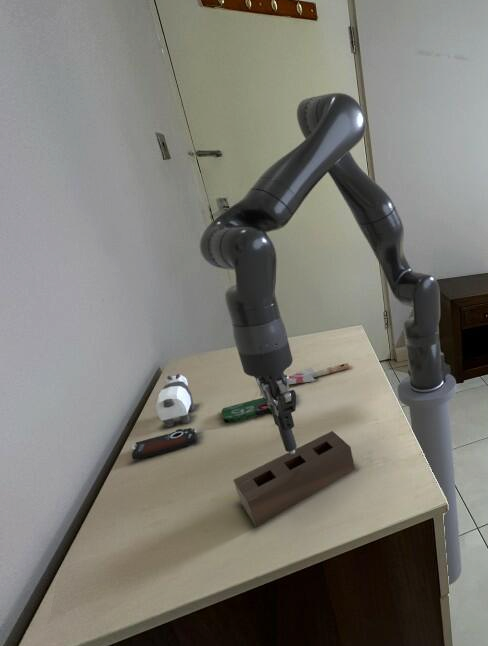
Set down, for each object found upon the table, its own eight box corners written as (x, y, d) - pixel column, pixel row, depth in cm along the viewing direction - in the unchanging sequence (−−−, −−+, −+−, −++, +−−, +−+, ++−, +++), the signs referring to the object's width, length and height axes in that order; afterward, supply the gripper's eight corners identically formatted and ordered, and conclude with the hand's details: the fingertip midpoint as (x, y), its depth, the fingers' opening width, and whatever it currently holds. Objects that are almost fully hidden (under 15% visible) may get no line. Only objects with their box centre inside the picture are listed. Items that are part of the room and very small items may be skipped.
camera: (136, 437, 90) (196, 422, 96) (139, 448, 91) (199, 432, 97) (129, 451, 85) (193, 434, 91) (134, 462, 86) (196, 444, 92)
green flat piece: (221, 426, 96) (221, 406, 103) (223, 431, 96) (223, 411, 104) (296, 405, 104) (291, 388, 112) (297, 409, 105) (292, 392, 112)
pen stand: (241, 503, 76) (232, 479, 74) (337, 452, 89) (332, 430, 87) (256, 527, 71) (247, 502, 69) (355, 469, 84) (350, 446, 82)
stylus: (295, 447, 78) (280, 396, 74) (299, 452, 77) (284, 400, 72) (285, 452, 77) (268, 401, 72) (289, 457, 76) (272, 405, 71)
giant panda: (190, 424, 99) (178, 391, 95) (162, 431, 97) (148, 397, 93) (199, 396, 111) (189, 366, 107) (174, 401, 108) (163, 371, 105)
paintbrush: (274, 376, 115) (346, 359, 126) (276, 384, 116) (347, 367, 127) (276, 381, 112) (349, 364, 123) (278, 390, 113) (350, 371, 124)
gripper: (302, 347, 67) (321, 432, 73) (271, 326, 75) (291, 404, 81) (252, 363, 61) (278, 453, 68) (225, 339, 70) (250, 420, 76)
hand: (285, 426), depth 75 cm, fingers closed on stylus, 2 cm apart
